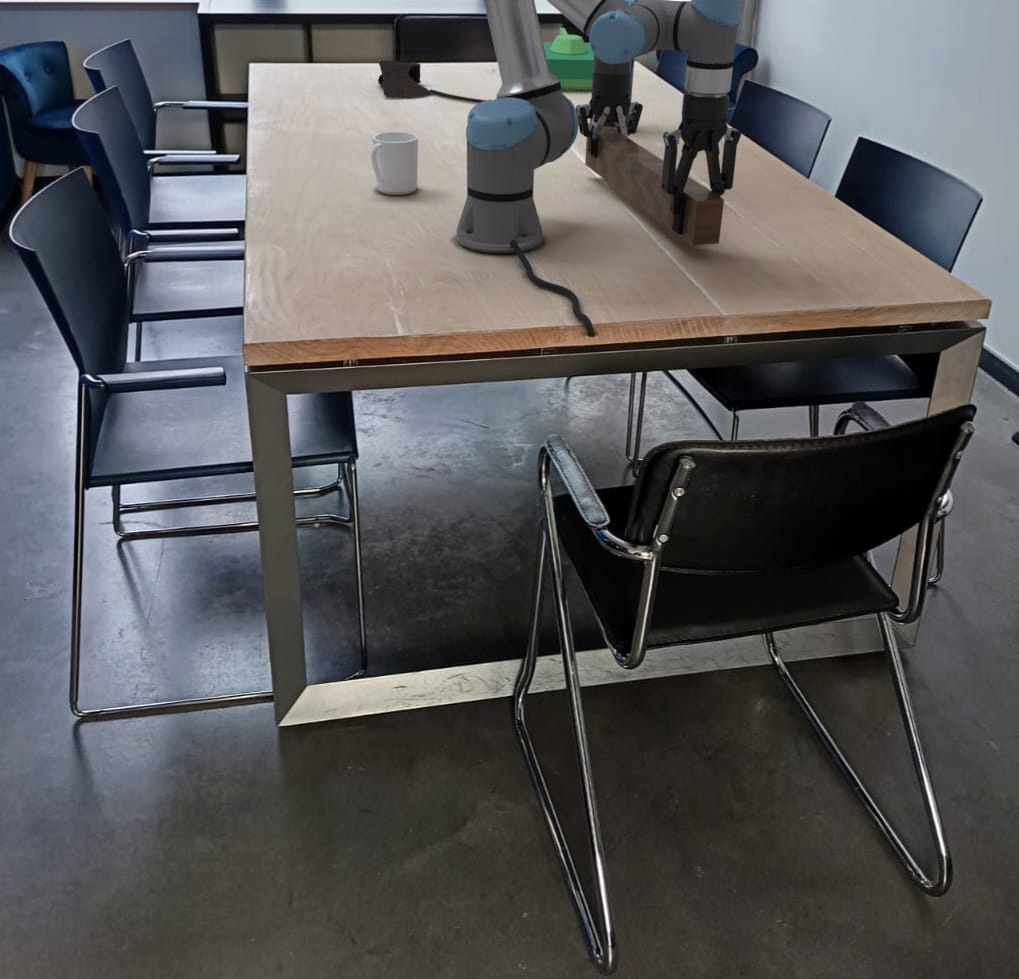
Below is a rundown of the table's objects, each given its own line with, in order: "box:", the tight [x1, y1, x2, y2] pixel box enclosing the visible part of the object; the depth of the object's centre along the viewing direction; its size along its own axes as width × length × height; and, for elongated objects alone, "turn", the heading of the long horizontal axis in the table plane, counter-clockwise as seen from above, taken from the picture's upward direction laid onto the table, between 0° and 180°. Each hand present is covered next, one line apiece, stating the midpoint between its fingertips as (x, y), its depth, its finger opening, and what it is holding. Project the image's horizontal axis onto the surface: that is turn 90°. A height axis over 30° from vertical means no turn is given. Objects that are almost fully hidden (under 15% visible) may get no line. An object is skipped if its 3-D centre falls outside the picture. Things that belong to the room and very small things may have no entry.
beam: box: [584, 126, 725, 247], centre depth 207 cm, size 53×5×8 cm, turn 17°
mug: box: [370, 131, 419, 196], centre depth 218 cm, size 11×9×10 cm
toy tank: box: [543, 27, 594, 91], centre depth 315 cm, size 18×12×35 cm
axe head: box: [377, 59, 433, 99], centre depth 299 cm, size 18×8×15 cm
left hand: (692, 230), depth 192 cm, fingers closed on beam, 5 cm apart
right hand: (606, 155), depth 225 cm, fingers closed on beam, 5 cm apart
